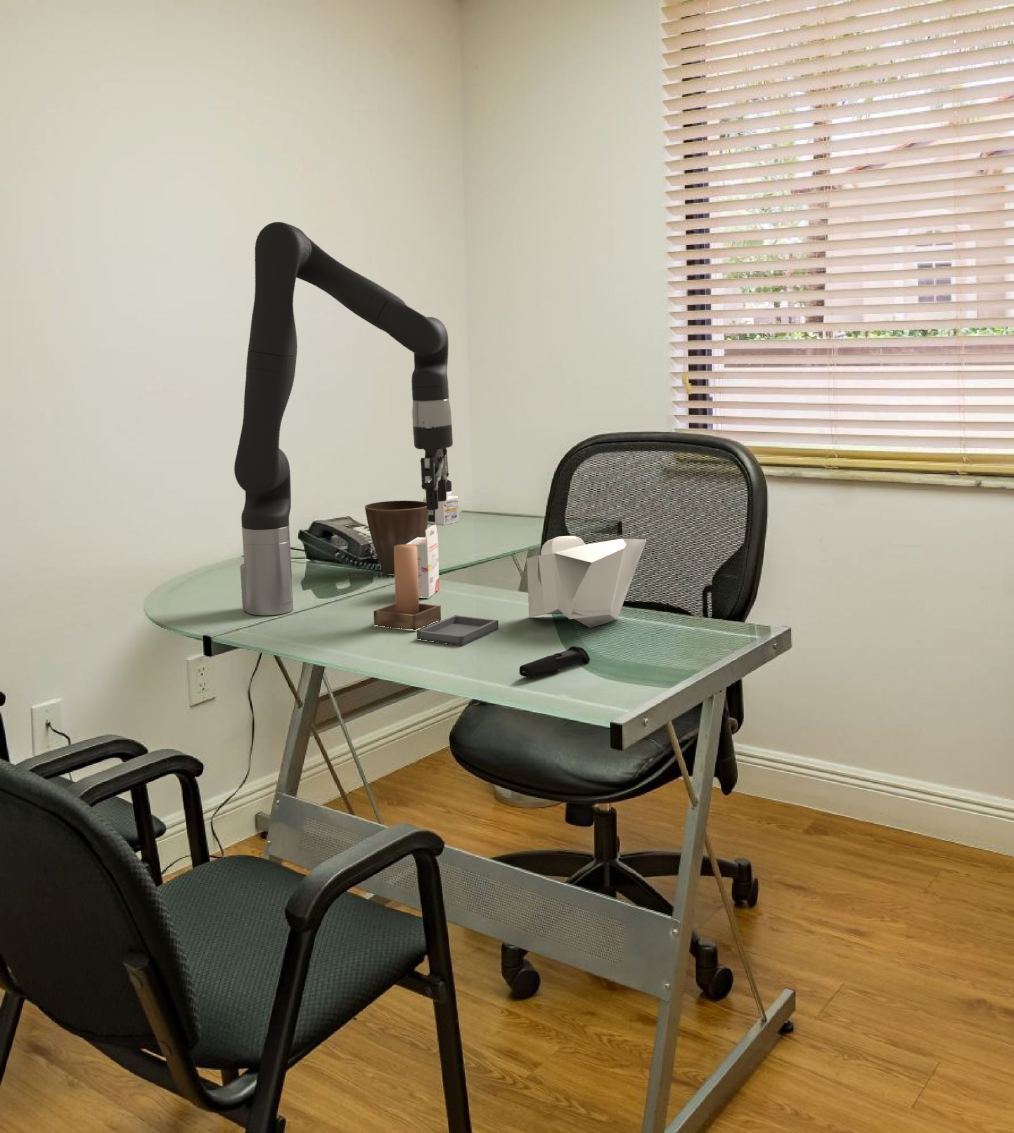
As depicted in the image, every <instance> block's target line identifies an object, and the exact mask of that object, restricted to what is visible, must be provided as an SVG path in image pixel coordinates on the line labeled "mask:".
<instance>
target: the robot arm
mask: <svg viewBox="0 0 1014 1133" xmlns="http://www.w3.org/2000/svg"><path fill="white" fill-rule="evenodd" d="M254 271H255V272H254V279H255V280H254V301H253V307H252V313H251V314H252V315H251V322H250V330H249V331H250V332H249V340H248V346H247V347H248V348H247V356H246V368H245V369H246V370H245V382H244V383H245V384H244V396H243V400H244V401H243V418H242V425H241V431H240V435H239V436H240V437H239V441H238V446H237V451H236V456H235V460H234V469H233V472H234V476H235V479H236V483H237V484H238V486H239V487H240V488H241V489H242V490H243V491H244V492H245V495H244V496H245V499H244V500H245V501H244V506H243V510H242V512H241V519H240V520H241V534H242V535H241V536H242V537H241V538H242V552H243V563H241V564H240V566H239V569H240V570H239V571H240V584H241V585H240V586H241V601H242V605H241V607H242V611H243V612H247V613H248V614H249V615H252V616H253V615H256V616H275V615H283V614H286V613H290V612H292V611H293V610H294V596H293V594H294V592H293V575H292V574H293V573H292V571H293V570H292V556H291V552H292V551H291V536H290V535H291V534H290V532H291V531H290V514H291V508H292V492H291V491H292V490H291V489H292V487H291V469H290V468H291V467H290V463H289V459H288V457H287V455H286V454H285V452H284V451H283V450H282V449H281V448H280V435H281V434H280V433H281V432H280V431H281V425H282V420H283V417H284V414H285V411H286V408H287V405H288V402H289V401H290V396H291V393H292V389H293V386H294V383H295V382H294V381H295V376H296V367H297V366H296V365H297V357H298V336H297V329H296V328H297V327H296V321H295V314H294V313H295V312H294V293H295V287H296V281H297V279H299V280H301V281H304V282H307V283H308V284H311V285H313V286H315V287H317V288H318V289H320V290H321V291H324V292H325V293H326V294H328V295H330V297H332V298H334V299H335V300H336V301H337V302H338V303H340V304H341V305H342V306H343V307H344V308H347V309H348V310H349V311H350V312H352V313H354V314H355V315H356V316H358V318H359V317H360V318H361V319H362V320H363V321H366V322H368V323H369V324H370V325H372V326H374V327H375V328H377V329H379V330H381V331H382V332H385V333H386V334H387V335H389V336H390V337H392V338H393V339H394V340H395V341H396V342H398V343H399V344H400V345H402V347H404V348H406V349H407V350H409V351H410V352H412V353H413V365H414V366H413V368H414V369H413V372H412V374H411V397H412V409H411V414H412V415H411V417H412V429H413V430H412V433H413V434H412V435H413V446H414V447H415V449H417V450H423V451H424V457H420V459H419V462H420V471H421V472H420V476H421V489H422V490H424V491H425V497H426V505H427V509H428V510H437V509H438V507H439V506H438V502H440V501H446V500H447V493H446V483H445V482H447V479H448V478H449V475H450V474H449V465H448V463H449V462H448V448H451V447H452V446H453V444H454V443H453V442H454V441H453V440H454V439H453V423H452V408H451V403H450V395H449V394H450V391H449V378H448V365H449V364H448V363H449V333H448V329H447V327H446V326H445V324H444V323H443V321H442V320H440V319H438V318H436V317H433V316H425V315H423V314H422V313H420V312H418V311H416V310H415V309H413V308H412V307H410V306H408V305H407V304H406V302H405V301H404V300H402V298H400V296H397V295H396V294H394V293H393V292H391V291H390V290H388V289H386V288H384V287H382V286H381V285H379V284H378V283H376V282H375V281H372V279H370V278H367V277H365V276H363V275H361V274H360V273H358V272H356V271H354V270H353V269H351V268H350V267H347V266H346V265H345V264H343V263H341V262H340V261H338V260H336V259H335V258H334V257H332V256H331V255H330V254H329V253H327V252H326V251H325V250H324V249H322V248H321V247H320V246H319V245H317V244H316V242H314V241H313V240H312V239H311V238H310V237H308V236H307V234H305V232H304V231H302V230H301V229H300V228H299V227H297V226H294V225H292V224H290V223H286V222H282V221H275V222H271V223H268V224H266V225H265V226H264V227H262V229H261V230H260V231H259V233H258V234H257V237H256V239H255V244H254ZM430 481H432V483H429V482H430Z"/></svg>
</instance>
